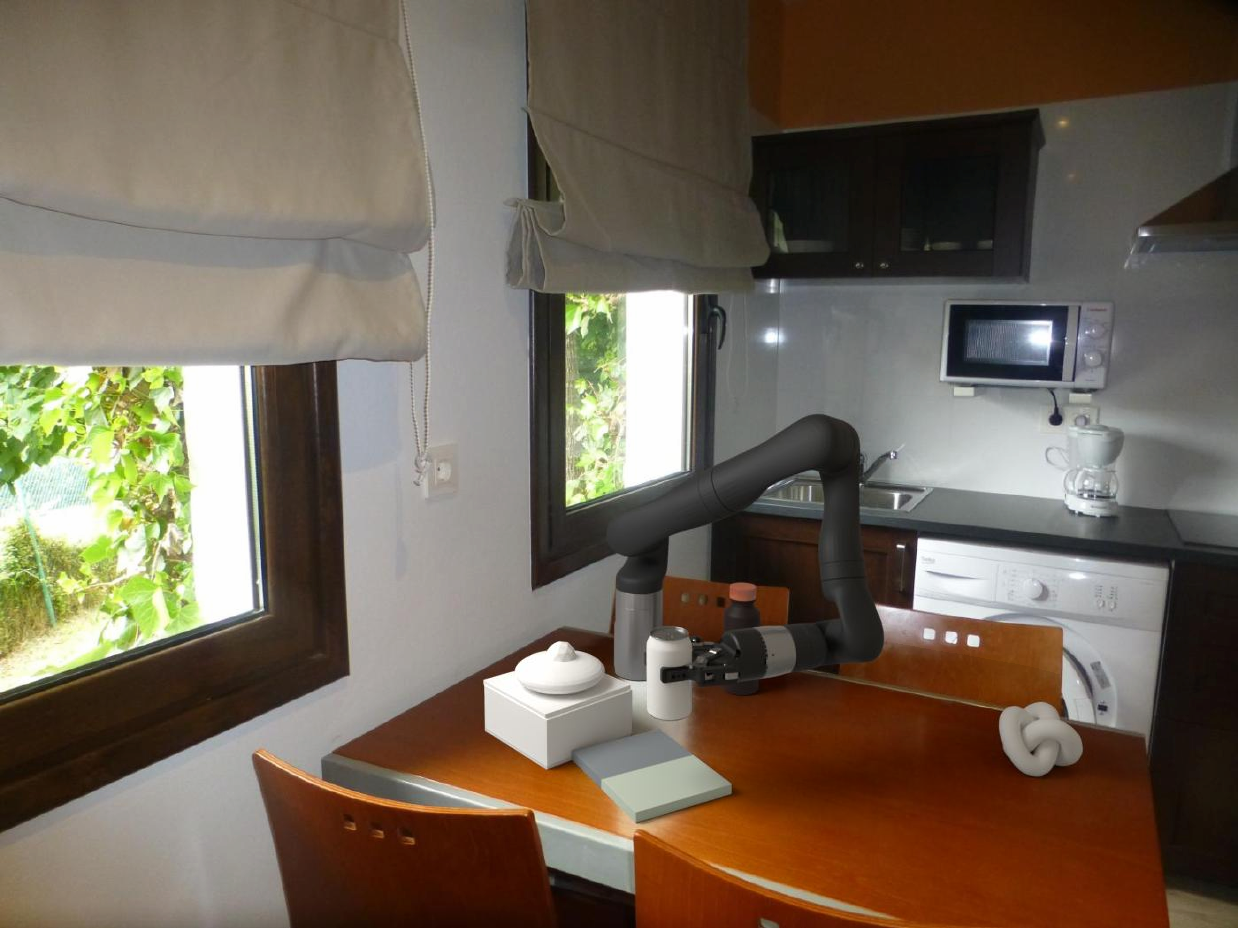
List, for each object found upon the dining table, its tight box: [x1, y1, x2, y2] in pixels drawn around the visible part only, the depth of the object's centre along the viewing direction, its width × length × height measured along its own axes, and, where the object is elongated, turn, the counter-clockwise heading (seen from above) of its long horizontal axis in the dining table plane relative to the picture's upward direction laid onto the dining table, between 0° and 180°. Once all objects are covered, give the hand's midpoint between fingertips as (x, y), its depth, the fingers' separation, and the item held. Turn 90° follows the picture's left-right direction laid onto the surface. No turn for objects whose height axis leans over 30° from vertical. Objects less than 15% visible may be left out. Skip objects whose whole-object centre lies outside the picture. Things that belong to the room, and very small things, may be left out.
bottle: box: [721, 582, 762, 696], centre depth 159 cm, size 7×7×20 cm
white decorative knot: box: [998, 701, 1084, 777], centre depth 131 cm, size 11×12×9 cm
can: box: [646, 625, 693, 722], centre depth 122 cm, size 6×6×12 cm
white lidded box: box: [482, 641, 633, 770], centre depth 141 cm, size 18×18×16 cm
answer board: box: [571, 728, 733, 824], centre depth 127 cm, size 20×16×2 cm
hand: (653, 667), depth 121 cm, fingers closed on can, 6 cm apart
